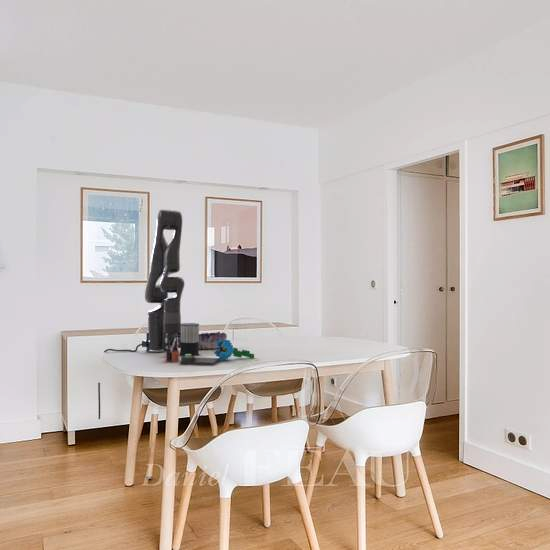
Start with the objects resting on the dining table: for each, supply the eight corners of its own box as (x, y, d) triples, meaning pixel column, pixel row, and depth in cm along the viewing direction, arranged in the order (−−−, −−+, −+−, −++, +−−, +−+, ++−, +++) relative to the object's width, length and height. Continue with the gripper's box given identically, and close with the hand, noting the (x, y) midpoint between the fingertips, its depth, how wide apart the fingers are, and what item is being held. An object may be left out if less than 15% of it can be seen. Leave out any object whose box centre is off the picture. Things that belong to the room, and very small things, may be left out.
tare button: (183, 358, 228) (183, 354, 228) (186, 357, 231) (186, 353, 231) (190, 358, 228) (190, 354, 228) (192, 357, 230) (192, 353, 230)
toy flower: (255, 367, 242) (219, 359, 234) (246, 364, 250) (211, 357, 242) (259, 347, 243) (224, 339, 235) (251, 345, 251) (216, 337, 243)
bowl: (162, 362, 234) (162, 351, 234) (168, 360, 240) (168, 350, 240) (176, 362, 233) (176, 352, 233) (181, 360, 239) (181, 350, 239)
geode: (192, 351, 268) (190, 331, 269) (185, 351, 279) (184, 332, 280) (230, 347, 277) (228, 328, 278) (222, 347, 287) (220, 329, 289)
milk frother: (202, 354, 259) (202, 323, 259) (187, 358, 244) (187, 326, 244) (176, 352, 263) (176, 322, 263) (159, 357, 248) (159, 325, 248)
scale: (179, 364, 227) (179, 357, 227) (189, 360, 239) (189, 353, 239) (211, 366, 224) (211, 358, 224) (220, 361, 236) (220, 354, 236)
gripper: (170, 320, 244) (170, 357, 244) (157, 323, 230) (157, 362, 230) (186, 320, 243) (185, 357, 243) (174, 323, 229) (174, 362, 229)
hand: (172, 359), depth 236 cm, fingers closed on bowl, 6 cm apart
